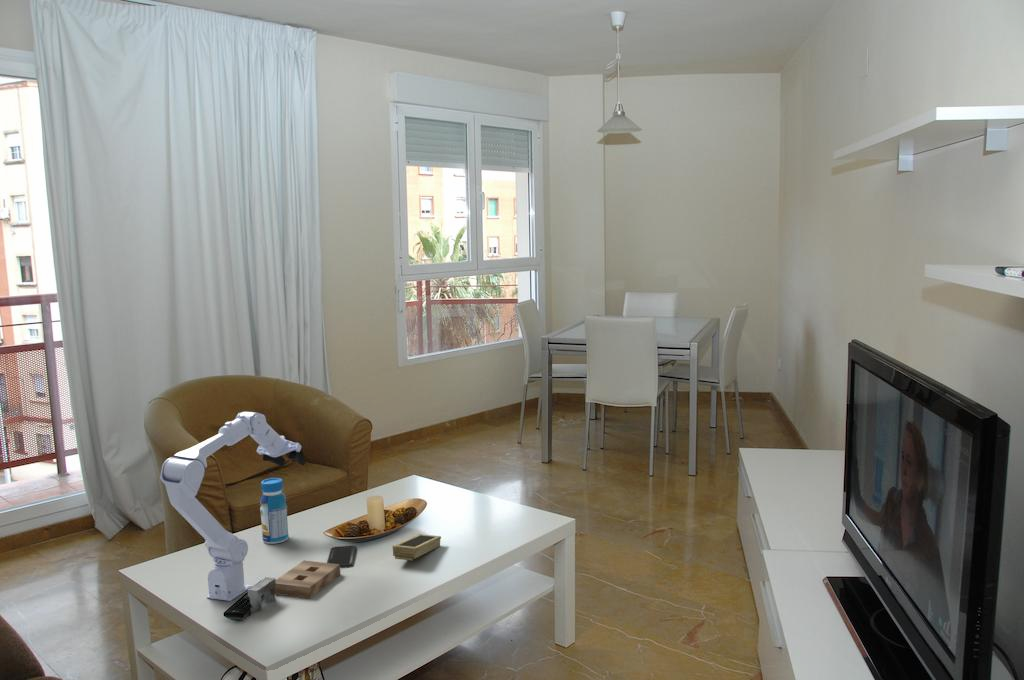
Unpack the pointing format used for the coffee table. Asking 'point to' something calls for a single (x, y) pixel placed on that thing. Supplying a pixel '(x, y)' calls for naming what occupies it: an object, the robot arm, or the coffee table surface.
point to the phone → (342, 556)
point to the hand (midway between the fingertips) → (293, 463)
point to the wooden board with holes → (306, 578)
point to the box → (415, 546)
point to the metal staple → (262, 588)
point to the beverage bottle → (273, 511)
